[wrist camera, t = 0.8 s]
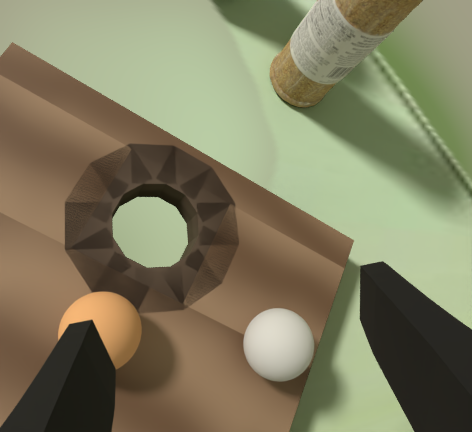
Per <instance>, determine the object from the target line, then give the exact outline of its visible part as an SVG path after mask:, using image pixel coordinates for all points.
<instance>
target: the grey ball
mask: <svg viewBox="0 0 472 432" xmlns="http://www.w3.org/2000/svg"><path fill="white" fill-rule="evenodd" d="M243 347H244V353H245V356H246V359H247V361H248V363H249V365H250V366H251V367H252V369H253V370H254V371H255V372H256V373H258V374H259V375H260V376H262V377H263V378H266V379H268V380H271V381H279V382H281V381H288V380H291V379H294V378H296V377H297V376H299V375H300V374H301V373H303V372H304V371H305V370H306V368H307V367H308V366H309V364H310V362H311V360H312V357H313V353H314V339H313V335H312V332H311V330H310V328H309V326H308V324H307V323H306V322H305V320H304V319H303V318H302V317H300V316H299V315H298V314H296V313H295V312H293V311H290V310H287V309H282V308H273V309H269V310H266V311H263V312H261V313H260V314H258V315H257V316H256V317H255V318H253V320H252V321H251V322H250V323H249V325H248V327H247V329H246V332H245V335H244V341H243Z"/></svg>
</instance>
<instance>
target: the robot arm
mask: <svg viewBox="0 0 472 432" xmlns="http://www.w3.org/2000/svg"><path fill="white" fill-rule="evenodd" d="M360 321H361V324H362V326H363V329H364V331H365V334H366V337H367V339H368V342H369V344H370V347H371V349H372V352H373V354H374V356H375V358H376V360H377V362H378V364H379V366H380V368H381V370H382V372H383V373H384V375H385V377H386V379H387V381H388V383H389V385H390V387H391V389H392V390H393V392H394V394H395V396H396V398H397V400H398V402H399V404H400V405H401V407H402V409H403V411H404V413H405V415H406V417H407V419H408V420H409V422H410V424H411V426H412V428H413V430H414V432H472V329H470V328H469V327H467V326H466V325H465V324H463V323H462V322H460V321H459V320H457V319H456V318H455V317H453V316H452V315H451V314H449V313H448V312H447V311H445V310H444V309H443V308H441V307H440V306H439V305H437V304H436V303H435V302H433V301H432V300H431V299H429V298H428V297H427V296H425V295H424V294H423V293H422V292H420V291H419V290H418V289H417V288H415V287H414V286H413V285H412V284H410V283H409V282H408V281H407V280H406V279H404V278H403V277H402V276H401V275H399V274H398V273H397V272H396V271H395V270H393V269H392V268H391V267H390V266H389V265H387V264H386V263H385V262H383V261H382V262H377V263H372V264H367V265H362V266H361V269H360ZM115 390H116V368H115V366H114V364H113V362H112V360H111V358H110V356H109V354H108V351H107V349H106V347H105V345H104V343H103V341H102V339H101V337H100V335H99V332H98V330H97V328H96V326H95V324H94V322H93V320H87V321H82V322H77V323H72V324H69V325H68V327H67V328H66V330H65V331H64V333H63V334H62V336H61V337H60V339H59V341H58V342H57V344H56V345H55V347H54V348H53V350H52V352H51V353H50V355H49V356H48V358H47V360H46V361H45V363H44V364H43V366H42V367H41V369H40V370H39V372H38V374H37V375H36V377H35V378H34V380H33V381H32V383H31V384H30V386H29V387H28V389H27V390H26V392H25V393H24V395H23V396H22V398H21V399H20V401H19V402H18V403H17V405H16V406H15V408H14V409H13V411H12V412H11V413H10V415H9V416H8V417H7V419H6V420H5V422H4V423H3V424H2V426H1V427H0V432H112V425H113V418H114V410H115Z"/></svg>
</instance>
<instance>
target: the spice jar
mask: <svg viewBox="0 0 472 432" xmlns="http://www.w3.org/2000/svg"><path fill="white" fill-rule="evenodd" d="M422 1H423V0H317V1H316V2H315V4H314V5H313V6H312V8H311V9H310V11H309V12H308V13H307V15H306V16H305V17H304V19H303V20H302V22H301V23H300V24H299V26H298V27H297V28H296V30H295V31H294V33H293V35H292V37H291V38H290V40H289V42H288V43H287V44H286V46H285V47H284V48H283V50H282V51H281V52H280V53H278V54H277V55H276V57H275V58H274V59H273V62H272V64H271V68H270V79H271V82H272V85H273V87H274V89H275V91H276V92H277V94H278V95H279V96H280V97H281V98H282V99H283V100H285V101H286V102H288V103H290V104H291V105H295V106H297V107H310V106H314V105H316V104H317V103H318V102H320V101H321V100H322V99H323V97H324V96H325V94H326V93H327V92H328V91H329V90H330V89H331V88H332V87H333V86H334V85H335V84H336V83H337V82H339V81H341V80H342V79H343V78H344V77H345V76H346V75H347V74H349V73H350V72H351V71H352V70H353V69H354V68H355V67H356V66H357V65H358V64H359V63H360V62H361V61H362V60H363V59H364V58H365V57H367V56H368V55H369V54H370V53H371V52H372V51H373V50H374V49H375V48H376V47H377V46H378V45H379V44H380V43H381V42H382V41H383V40H384V39H385V38H387V37H388V36H389V35H390V34H391V33H392V32H393V31H394V29H395V28H396V26H397V25H398V24H399V23H400V22H401V21H402V20H404V19H405V18H406V17H407V15H409V13H410V12H411V11H412V10H413V9H414V8H415V7H417V6H418V5H419V4H420V3H421V2H422Z"/></svg>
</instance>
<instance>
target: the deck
mask: <svg viewBox="0 0 472 432" xmlns="http://www.w3.org/2000/svg"><path fill="white" fill-rule="evenodd" d="M136 197H159V198H161V199H163V200H164V201H166V202H168V203H170V204H172V205H174V206H175V207H176V208H177V209H178V211H179V212H180V214H181V215H182V217H183V218H184V220H185V222H186V223H187V233H188V245H187V247H186V249H185V251H184V253H183V255H182V257H181V259H180V261H179V262H177V263H176V264H174V265H172V266H171V267H155V268H154V267H153V268H146V267H144V266H142V265H141V264H139V263H137V262H135V261H133V260H131V259H129V258H127V257H125V255H124V254H123V252H122V251H121V249H120V247H119V246H118V244H117V243H116V241H115V240H114V238H113V231H112V218H113V216H114V214H115V213H116V211H117V209H118V208H119V206H121V205H123V204H125V203H127V202H129V201H130V200H132V199H134V198H136ZM353 242H354V240H352V239H351V238H349V237H347V236H345V235H344V234H342V233H340V232H338V231H337V230H335V229H333V228H332V227H330V226H328V225H326V224H325V223H323V222H321V221H320V220H318V219H316V218H314V217H313V216H311V215H309V214H307V213H306V212H304V211H302V210H301V209H299V208H297V207H295V206H294V205H292V204H290V203H288V202H287V201H285V200H283V199H282V198H280V197H278V196H276V195H275V194H273V193H271V192H270V191H268V190H266V189H264V188H263V187H261V186H259V185H257V184H256V183H254V182H252V181H251V180H249V179H247V178H245V177H244V176H242V175H240V174H238V173H237V172H235V171H233V170H231V169H230V168H228V167H226V166H225V165H223V164H221V163H220V162H218V161H216V160H214V159H213V158H211V157H209V156H207V155H206V154H204V153H202V152H200V151H199V150H197V149H195V148H194V147H192V146H190V145H188V144H187V143H185V142H183V141H181V140H180V139H178V138H176V137H175V136H173V135H171V134H170V133H168V132H166V131H164V130H163V129H161V128H159V127H157V126H156V125H154V124H152V123H151V122H149V121H147V120H145V119H144V118H142V117H140V116H138V115H137V114H135V113H133V112H132V111H130V110H128V109H126V108H125V107H123V106H121V105H119V104H118V103H116V102H114V101H113V100H111V99H109V98H107V97H106V96H104V95H102V94H101V93H99V92H97V91H95V90H94V89H92V88H90V87H88V86H87V85H85V84H83V83H81V82H80V81H78V80H76V79H75V78H73V77H71V76H70V75H68V74H66V73H64V72H62V71H61V70H59V69H57V68H56V67H54V66H52V65H51V64H49V63H47V62H45V61H44V60H42V59H40V58H38V57H37V56H35V55H33V54H31V53H30V52H28V51H26V50H25V49H23V48H21V47H20V46H18V45H16V44H14V43H11V45H10V46H9V47H8V48H7V49H6V51H5V52H4V53H3V54H2V55H1V57H0V427H1V426H2V424H3V423H4V422H5V420H6V419H7V417H8V416H9V415H10V413H11V412H12V411H13V409H14V408H15V406H16V405H17V403H18V402H19V401H20V399H21V398H22V396H23V395H24V393H25V392H26V390H27V389H28V387H29V386H30V384H31V383H32V381H33V380H34V378H35V377H36V375H37V374H38V372H39V370H40V369H41V367H42V366H43V364H44V363H45V361H46V360H47V358H48V356H49V355H50V353H51V352H52V350H53V348H54V347H55V345H56V344H57V342H58V330H59V325H60V322H61V319H62V317H63V315H64V313H65V312H66V310H67V309H68V308H69V307H70V306H71V305H72V304H73V303H74V302H75V301H76V300H78V299H79V298H81V297H83V296H85V295H87V294H90V293H94V292H112V293H116V294H118V295H121V296H123V297H124V298H126V299H127V300H128V301H130V303H131V304H132V305H133V306H134V307H135V309H136V310H137V312H138V314H139V317H140V320H141V326H142V334H141V339H140V343H139V346H138V348H137V350H136V352H135V353H134V355H133V356H132V357H131V359H130V360H129V361H128V362H127V363H125V364H124V365H123V366H121V367H120V368H118V369H116V390H115V410H114V418H113V425H112V432H289V431H290V428H291V425H292V422H293V419H294V416H295V413H296V410H297V407H298V404H299V401H300V398H301V395H302V392H303V389H304V386H305V383H306V380H307V377H308V375H309V372H310V369H311V366H312V363H313V360H314V357H315V354H316V351H317V348H318V345H319V342H320V339H321V336H322V333H323V330H324V327H325V324H326V322H327V319H328V316H329V313H330V310H331V307H332V304H333V301H334V298H335V295H336V292H337V289H338V286H339V283H340V280H341V277H342V274H343V271H344V269H345V266H346V263H347V260H348V257H349V254H350V251H351V248H352V245H353ZM273 308H282V309H287V310H290V311H293V312H295V313H296V314H298V315H299V316H300V317H302V318H303V319H304V320H305V322H306V323H307V324H308V326H309V328H310V330H311V332H312V335H313V339H314V353H313V357H312V360H311V362H310V364H309V366H308V367H307V368H306V370H305V371H304V372H303V373H301V374H300V375H299V376H297V377H296V378H294V379H291V380H288V381H281V382H279V381H271V380H268V379H266V378H263V377H262V376H260V375H259V374H258V373H256V372H255V371H254V370H253V369H252V367H251V366H250V365H249V363H248V361H247V359H246V356H245V353H244V347H243V341H244V335H245V332H246V329H247V327H248V325H249V323H250V322H251V321H252V320H253V318H255V317H256V316H257V315H258V314H260V313H261V312H263V311H266V310H269V309H273Z"/></svg>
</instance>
